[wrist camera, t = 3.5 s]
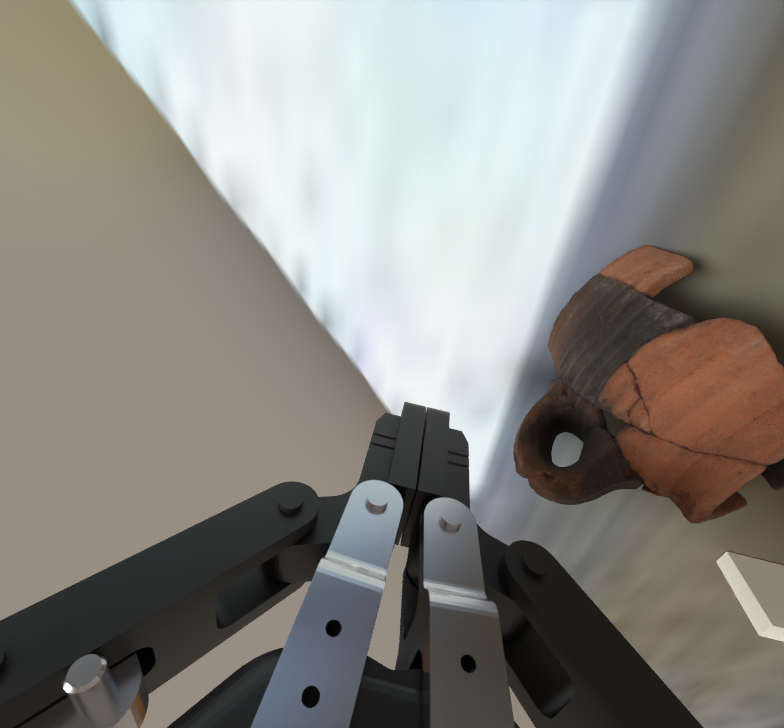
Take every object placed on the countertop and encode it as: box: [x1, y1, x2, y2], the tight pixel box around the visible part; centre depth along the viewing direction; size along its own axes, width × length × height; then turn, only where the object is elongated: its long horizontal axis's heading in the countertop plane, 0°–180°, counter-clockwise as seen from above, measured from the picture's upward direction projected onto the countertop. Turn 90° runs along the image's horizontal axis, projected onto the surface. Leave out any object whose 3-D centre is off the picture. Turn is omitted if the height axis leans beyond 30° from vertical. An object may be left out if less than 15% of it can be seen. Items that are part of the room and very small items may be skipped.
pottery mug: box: [513, 245, 784, 523], centre depth 16 cm, size 12×10×8 cm
